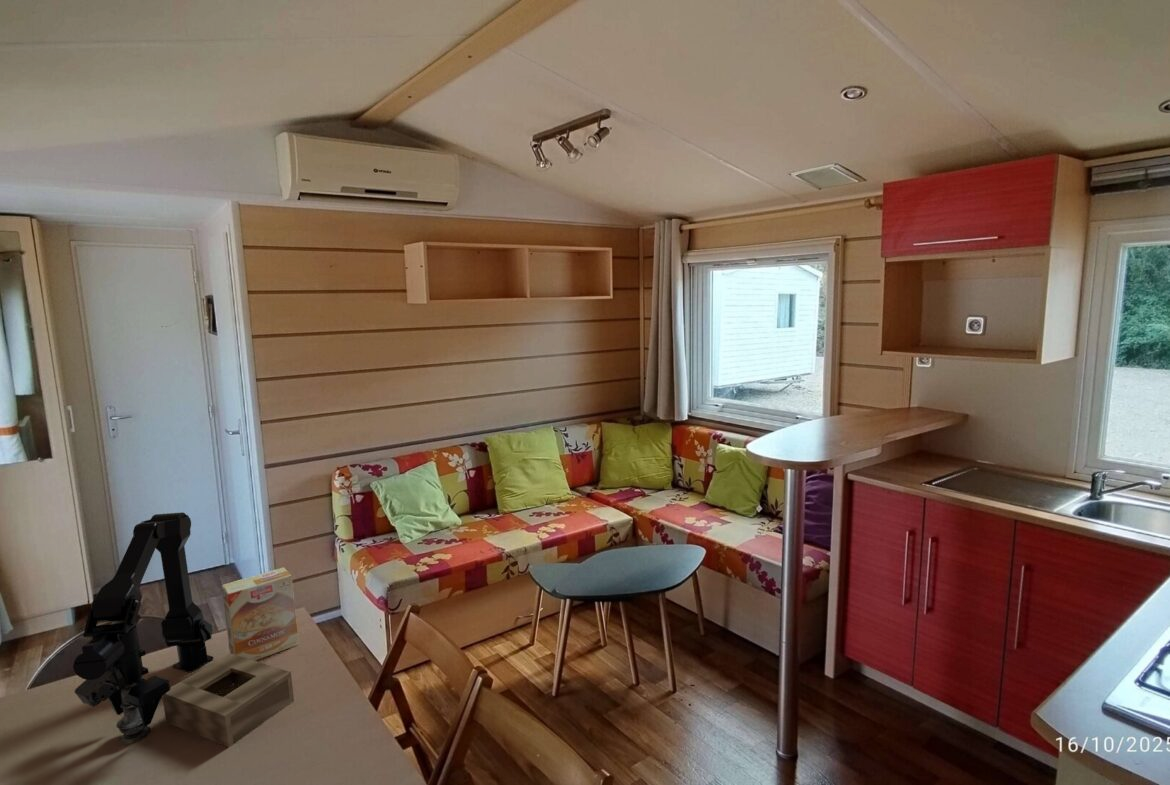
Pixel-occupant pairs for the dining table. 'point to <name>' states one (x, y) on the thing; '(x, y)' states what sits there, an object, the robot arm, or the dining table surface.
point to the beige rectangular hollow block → (228, 698)
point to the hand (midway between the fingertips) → (133, 719)
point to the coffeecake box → (260, 614)
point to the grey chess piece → (131, 721)
